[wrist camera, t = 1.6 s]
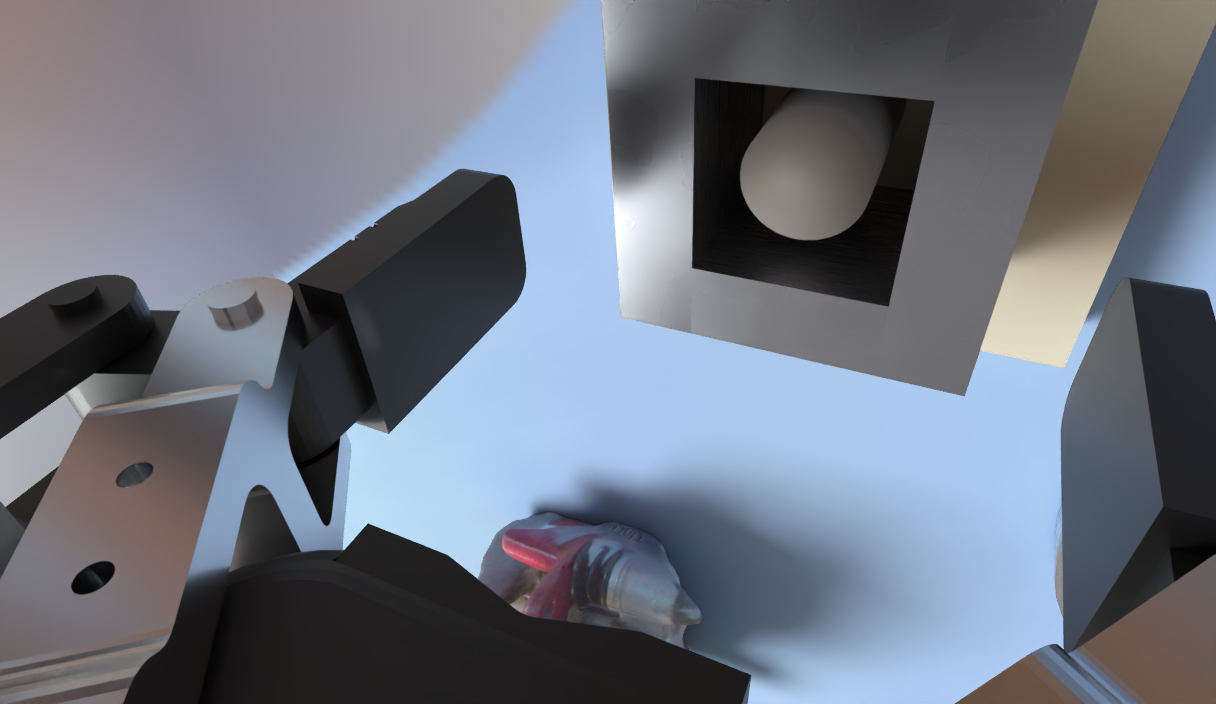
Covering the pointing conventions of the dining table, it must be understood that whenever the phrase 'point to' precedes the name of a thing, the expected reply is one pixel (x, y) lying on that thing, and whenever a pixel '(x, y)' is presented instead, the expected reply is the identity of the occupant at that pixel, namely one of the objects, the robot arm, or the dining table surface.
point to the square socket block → (894, 218)
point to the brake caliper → (589, 576)
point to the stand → (1066, 187)
